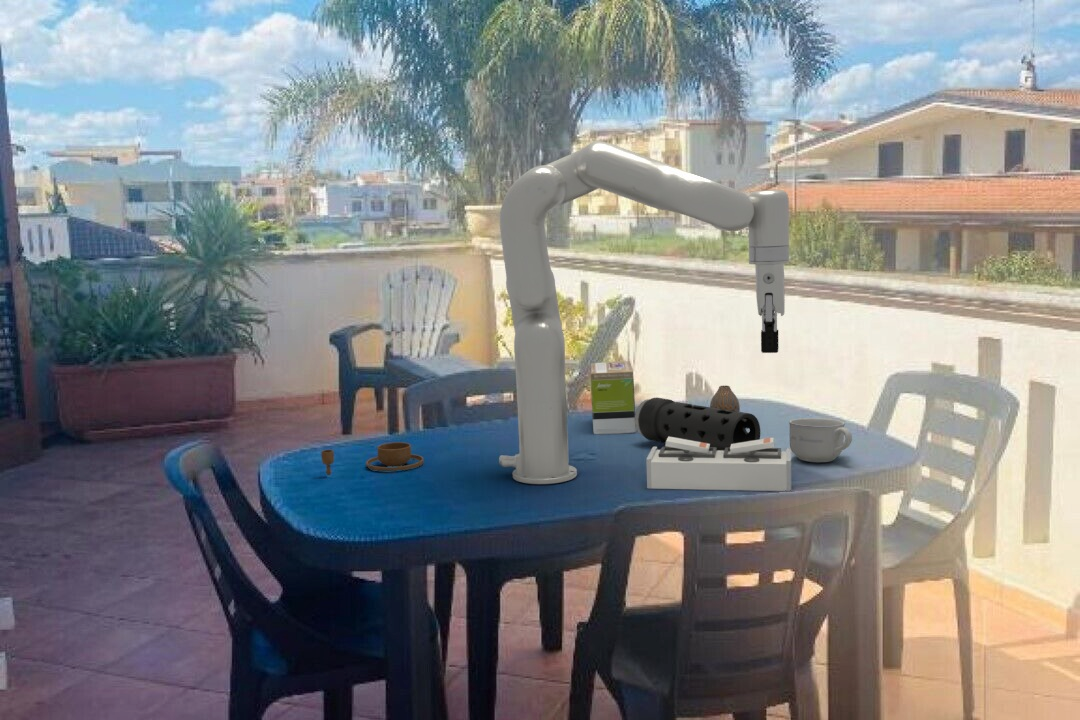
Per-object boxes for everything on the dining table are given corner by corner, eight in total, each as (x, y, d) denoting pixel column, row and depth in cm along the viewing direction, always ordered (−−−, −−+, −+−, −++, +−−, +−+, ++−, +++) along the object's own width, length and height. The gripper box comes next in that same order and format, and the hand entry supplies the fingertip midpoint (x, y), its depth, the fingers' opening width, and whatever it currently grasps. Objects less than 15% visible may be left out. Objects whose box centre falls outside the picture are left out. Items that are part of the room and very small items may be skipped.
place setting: (420, 477, 217) (418, 449, 216) (320, 482, 217) (318, 453, 216) (426, 457, 234) (425, 431, 234) (334, 461, 234) (332, 435, 233)
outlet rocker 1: (664, 449, 203) (666, 440, 203) (667, 444, 207) (668, 435, 207) (707, 457, 202) (708, 448, 201) (708, 452, 205) (710, 443, 205)
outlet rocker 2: (731, 457, 200) (729, 448, 200) (732, 452, 204) (730, 443, 204) (775, 450, 199) (773, 441, 198) (775, 446, 202) (773, 436, 202)
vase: (740, 420, 257) (740, 383, 256) (739, 426, 250) (738, 388, 249) (711, 419, 259) (710, 383, 257) (709, 425, 252) (708, 388, 251)
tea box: (591, 421, 262) (589, 361, 260) (633, 420, 262) (631, 360, 260) (592, 435, 247) (590, 371, 245) (636, 433, 247) (634, 370, 245)
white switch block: (647, 488, 200) (646, 459, 199) (653, 474, 209) (652, 446, 209) (791, 491, 194) (790, 460, 193) (791, 477, 204) (790, 448, 203)
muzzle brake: (731, 467, 214) (730, 415, 212) (632, 446, 235) (630, 399, 234) (762, 458, 220) (761, 408, 218) (662, 438, 241) (661, 393, 240)
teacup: (778, 457, 219) (778, 419, 218) (823, 451, 223) (822, 413, 222) (820, 472, 206) (820, 431, 205) (866, 465, 210) (866, 424, 209)
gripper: (789, 257, 197) (789, 357, 199) (789, 252, 212) (789, 345, 215) (747, 258, 198) (748, 357, 201) (750, 254, 214) (751, 346, 216)
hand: (769, 350), depth 208 cm, fingers closed
